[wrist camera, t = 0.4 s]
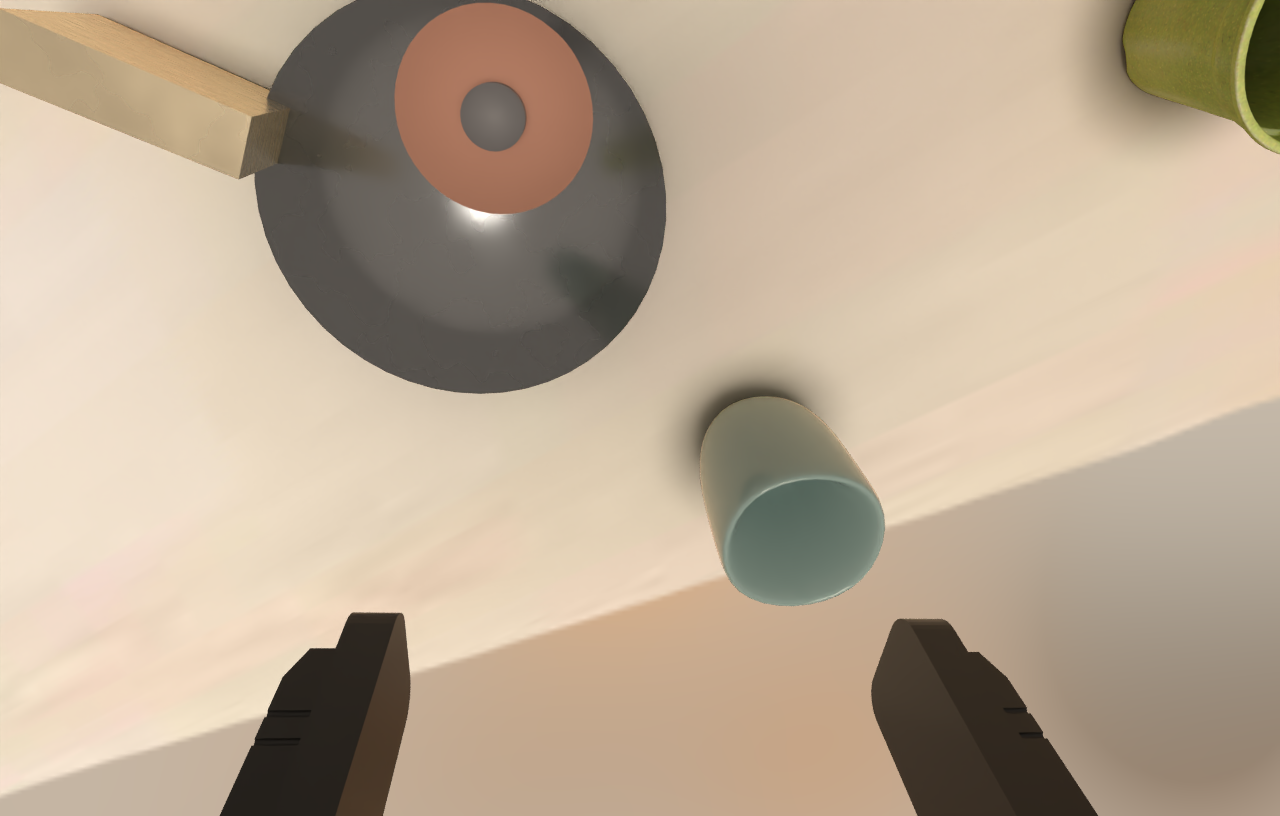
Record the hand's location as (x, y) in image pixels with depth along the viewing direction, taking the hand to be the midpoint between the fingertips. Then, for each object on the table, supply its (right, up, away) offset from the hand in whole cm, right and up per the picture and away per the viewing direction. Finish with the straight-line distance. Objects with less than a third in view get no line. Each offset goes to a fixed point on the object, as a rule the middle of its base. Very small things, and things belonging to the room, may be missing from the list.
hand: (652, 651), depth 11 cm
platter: (-11, +15, +20) cm, 27 cm away
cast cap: (-6, +17, +18) cm, 25 cm away
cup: (+6, +2, +29) cm, 30 cm away
